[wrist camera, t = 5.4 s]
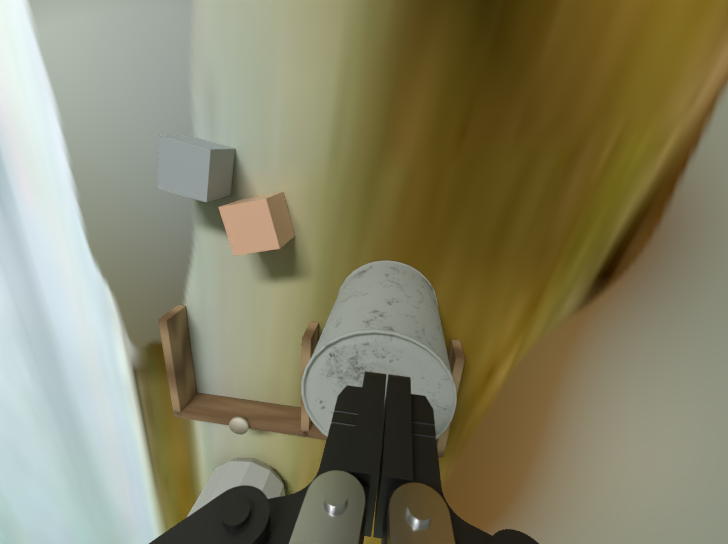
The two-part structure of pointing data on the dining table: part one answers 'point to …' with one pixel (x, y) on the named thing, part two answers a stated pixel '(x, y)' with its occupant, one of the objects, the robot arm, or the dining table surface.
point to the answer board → (246, 411)
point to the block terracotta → (257, 223)
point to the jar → (240, 480)
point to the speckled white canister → (381, 342)
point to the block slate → (194, 167)
